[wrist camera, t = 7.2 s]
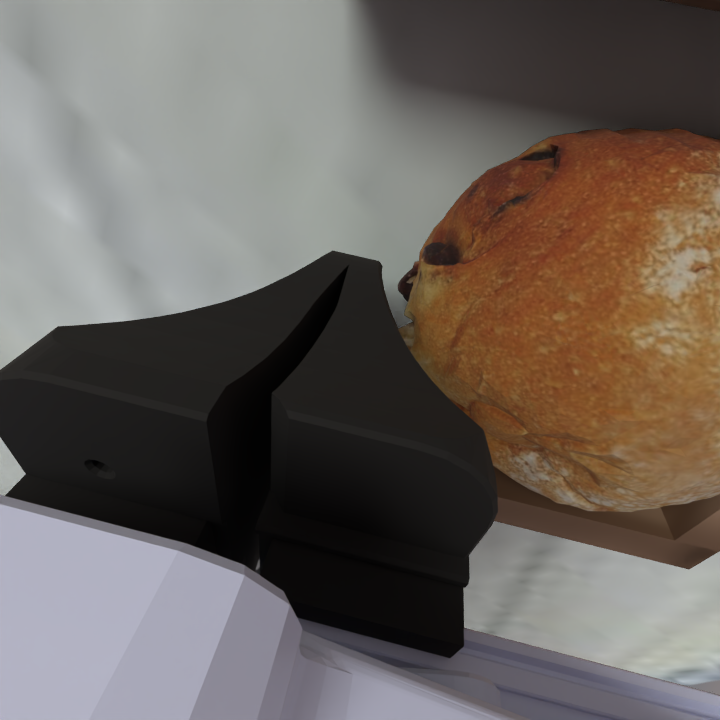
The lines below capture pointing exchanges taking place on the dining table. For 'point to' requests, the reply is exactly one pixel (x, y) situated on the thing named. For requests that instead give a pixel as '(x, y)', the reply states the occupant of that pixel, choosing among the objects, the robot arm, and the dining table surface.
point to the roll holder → (621, 529)
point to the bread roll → (584, 316)
